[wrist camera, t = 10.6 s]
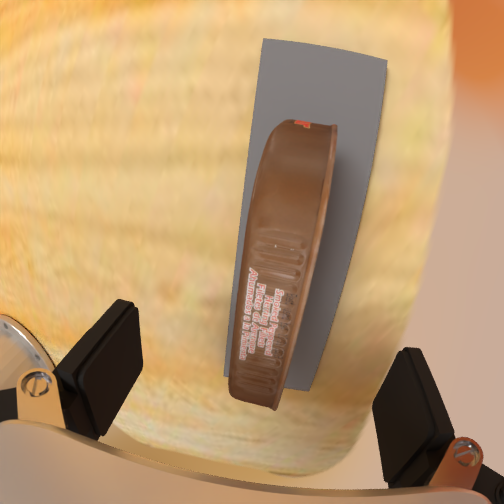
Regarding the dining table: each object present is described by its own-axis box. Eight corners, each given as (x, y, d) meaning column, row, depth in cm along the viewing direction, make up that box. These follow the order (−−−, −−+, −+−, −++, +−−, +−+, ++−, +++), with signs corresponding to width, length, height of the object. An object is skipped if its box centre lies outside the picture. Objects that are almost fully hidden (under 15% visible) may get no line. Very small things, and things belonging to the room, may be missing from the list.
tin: (289, 346, 22) (278, 443, 15) (246, 338, 23) (219, 431, 15) (335, 125, 16) (363, 127, 9) (279, 116, 16) (258, 109, 9)
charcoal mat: (309, 382, 25) (308, 391, 24) (226, 368, 25) (223, 376, 24) (383, 63, 15) (387, 60, 14) (265, 42, 16) (263, 38, 15)
